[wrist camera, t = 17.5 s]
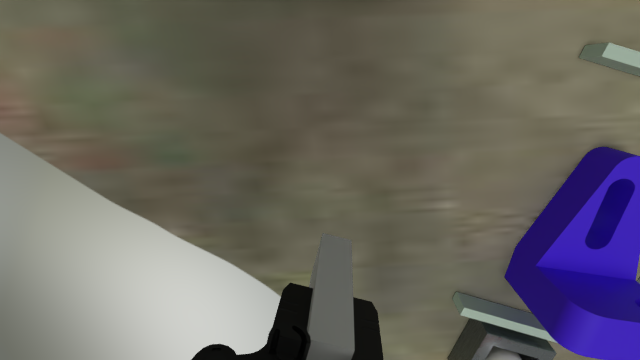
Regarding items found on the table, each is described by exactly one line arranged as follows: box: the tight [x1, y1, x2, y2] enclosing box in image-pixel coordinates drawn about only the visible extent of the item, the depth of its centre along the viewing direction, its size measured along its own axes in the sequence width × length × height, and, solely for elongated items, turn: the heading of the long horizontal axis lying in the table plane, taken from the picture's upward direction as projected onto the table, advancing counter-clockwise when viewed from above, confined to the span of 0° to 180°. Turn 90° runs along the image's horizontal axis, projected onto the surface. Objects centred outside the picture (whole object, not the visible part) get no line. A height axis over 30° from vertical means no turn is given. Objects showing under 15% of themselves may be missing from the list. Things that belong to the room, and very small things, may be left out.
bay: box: [452, 43, 640, 343], centre depth 35 cm, size 32×21×3 cm, turn 164°
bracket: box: [505, 147, 640, 360], centre depth 32 cm, size 18×11×12 cm, turn 173°
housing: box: [448, 318, 557, 360], centre depth 42 cm, size 9×9×4 cm
